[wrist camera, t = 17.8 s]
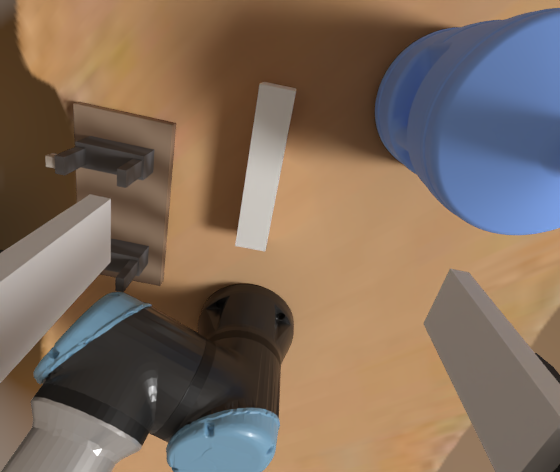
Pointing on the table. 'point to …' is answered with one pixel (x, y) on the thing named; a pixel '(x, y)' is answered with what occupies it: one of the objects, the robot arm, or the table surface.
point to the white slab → (264, 163)
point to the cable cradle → (125, 184)
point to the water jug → (481, 120)
